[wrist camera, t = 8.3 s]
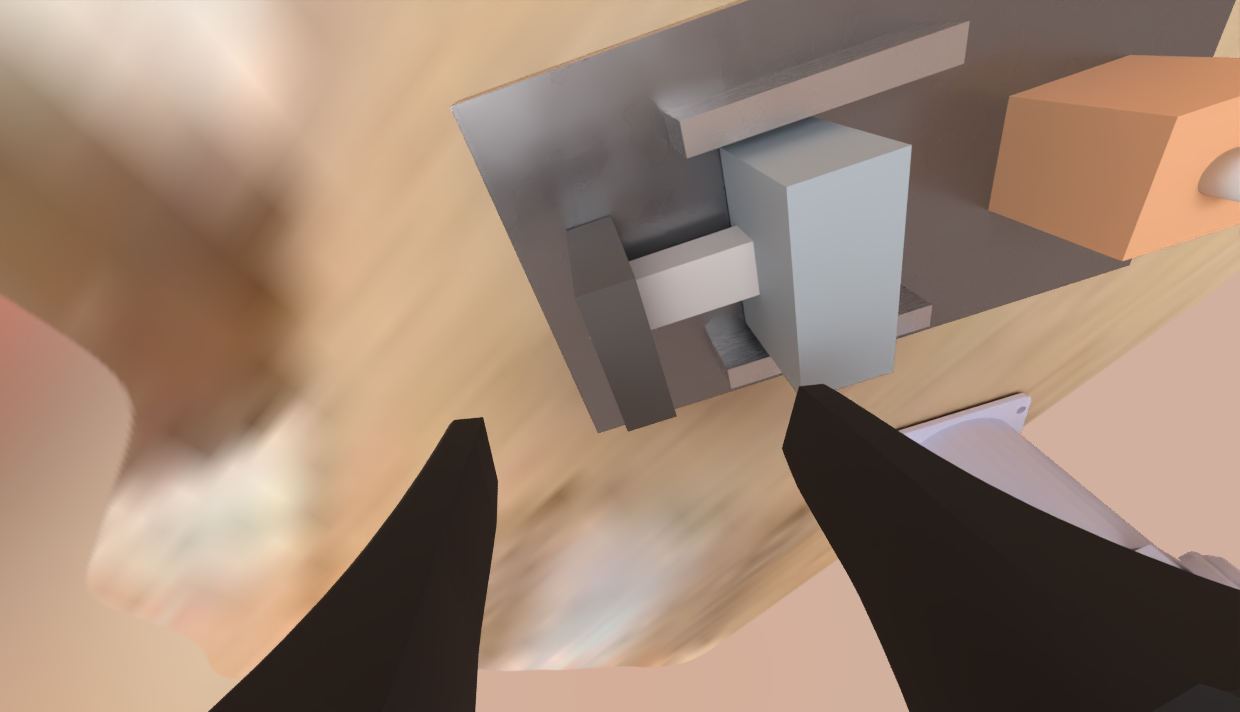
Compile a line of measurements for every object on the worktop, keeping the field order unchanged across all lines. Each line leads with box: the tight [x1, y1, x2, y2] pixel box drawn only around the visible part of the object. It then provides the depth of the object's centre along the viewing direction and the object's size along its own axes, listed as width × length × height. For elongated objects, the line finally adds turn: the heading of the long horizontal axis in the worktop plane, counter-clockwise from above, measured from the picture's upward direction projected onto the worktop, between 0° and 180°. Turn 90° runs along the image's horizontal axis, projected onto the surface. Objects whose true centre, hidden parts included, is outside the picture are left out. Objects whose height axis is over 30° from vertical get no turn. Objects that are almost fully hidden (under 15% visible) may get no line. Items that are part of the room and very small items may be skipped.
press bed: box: [450, 0, 1236, 433], centre depth 17 cm, size 14×24×4 cm, turn 106°
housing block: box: [988, 55, 1240, 261], centre depth 14 cm, size 4×4×6 cm
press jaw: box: [566, 116, 912, 431], centre depth 15 cm, size 7×9×5 cm
